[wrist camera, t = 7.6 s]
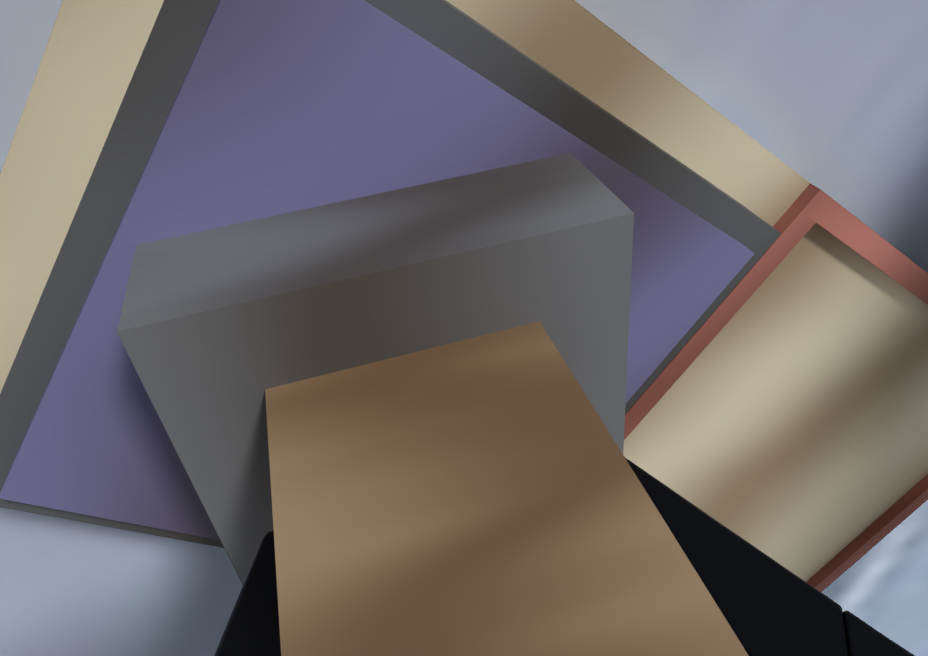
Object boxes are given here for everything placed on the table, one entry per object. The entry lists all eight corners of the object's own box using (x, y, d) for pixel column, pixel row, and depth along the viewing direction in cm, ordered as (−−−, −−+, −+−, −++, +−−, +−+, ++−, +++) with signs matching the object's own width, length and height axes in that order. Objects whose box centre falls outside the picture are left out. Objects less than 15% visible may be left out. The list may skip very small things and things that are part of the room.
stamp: (570, 152, 10) (1053, 616, 4) (575, 446, 14) (838, 920, 8) (136, 244, 9) (-35, 1000, 3) (262, 533, 13) (289, 1145, 7)
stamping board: (1022, 351, 20) (1108, 408, 18) (737, 611, 25) (781, 680, 23) (180, -297, 8) (164, -335, 6) (-87, 432, 13) (-145, 544, 11)
